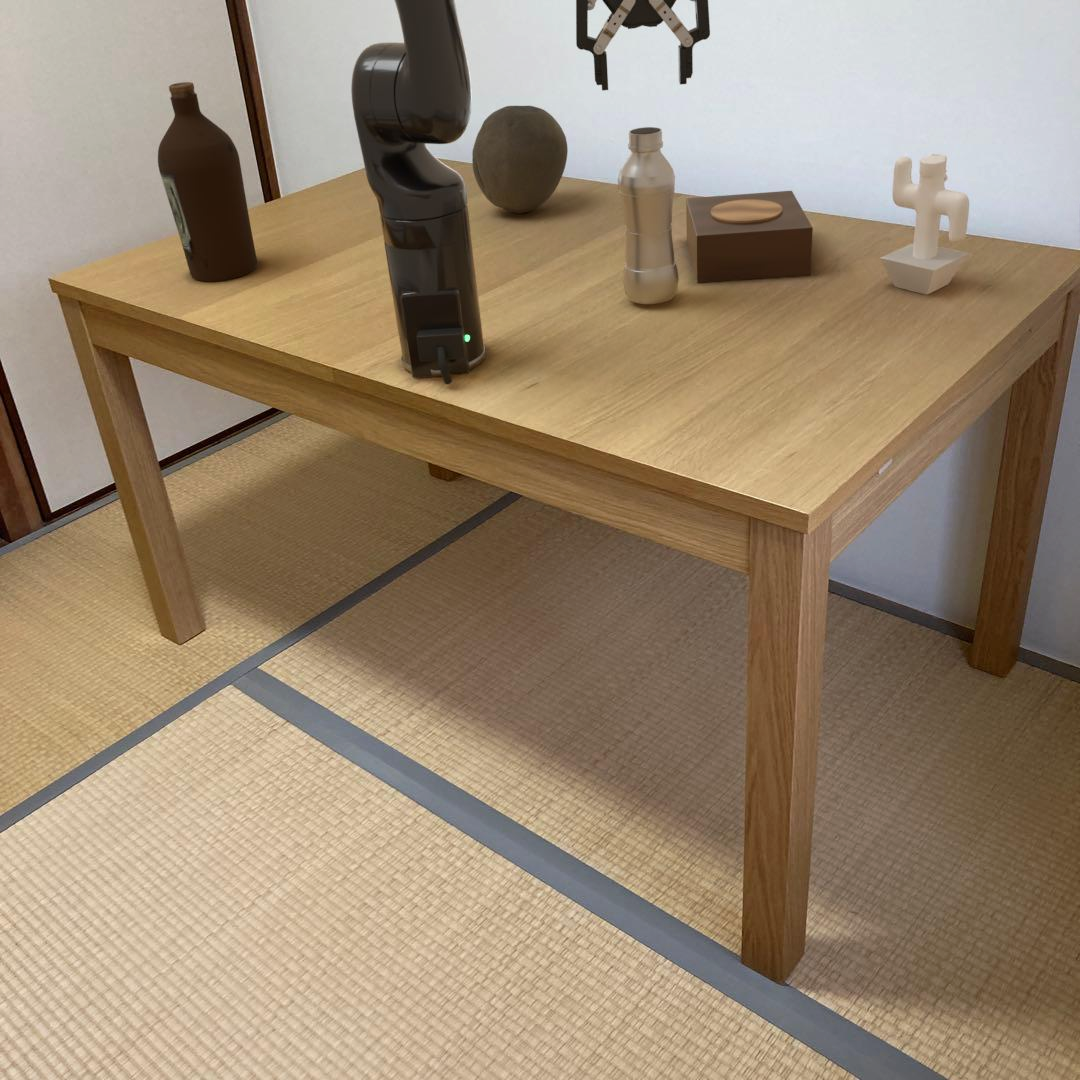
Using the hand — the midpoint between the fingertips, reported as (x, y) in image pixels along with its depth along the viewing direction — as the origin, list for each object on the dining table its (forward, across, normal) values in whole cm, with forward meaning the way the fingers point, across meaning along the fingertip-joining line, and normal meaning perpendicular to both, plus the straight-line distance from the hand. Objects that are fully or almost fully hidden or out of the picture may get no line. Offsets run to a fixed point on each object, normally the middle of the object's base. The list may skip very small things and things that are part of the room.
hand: (643, 86), depth 127 cm
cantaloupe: (+25, -17, +42) cm, 52 cm away
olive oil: (+25, -59, +23) cm, 68 cm away
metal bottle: (+25, 0, 0) cm, 25 cm away
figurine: (+25, +32, -1) cm, 41 cm away
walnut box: (+25, +13, +13) cm, 31 cm away
